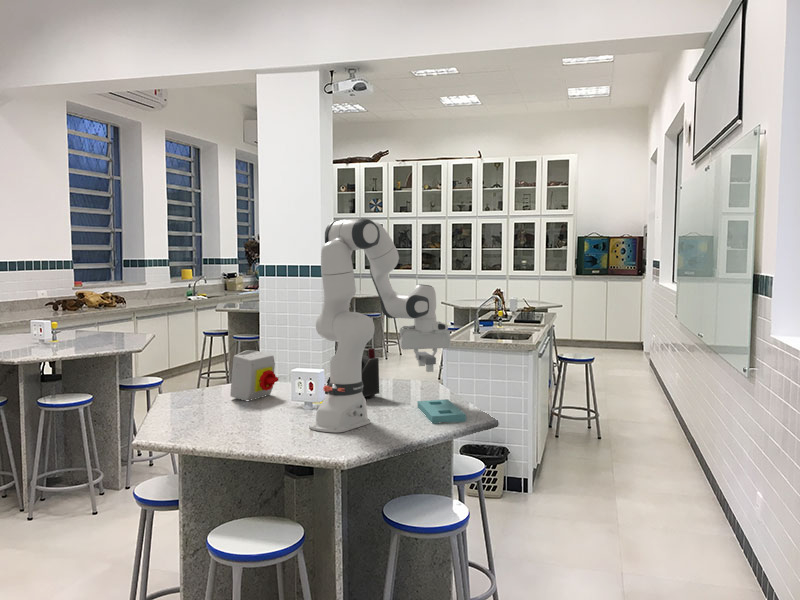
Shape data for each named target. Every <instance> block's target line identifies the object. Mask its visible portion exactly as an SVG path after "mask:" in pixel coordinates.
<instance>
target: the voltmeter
mask: <svg viewBox="0 0 800 600" xmlns="http://www.w3.org/2000/svg"><path fill="white" fill-rule="evenodd" d="M379 361H380V359H379V357H376V353H375V348H368V355H362V365H361V376H362V381H363V391H362V393H363V396H364V398H365V397H369V398H375V395H377V394H378V395H379V394H380V363H379ZM329 382H330V376H329V377H328V379H327V380H326V385H325V386H329ZM324 394H325V395H327V394H328V393H327V391H324Z"/></svg>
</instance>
